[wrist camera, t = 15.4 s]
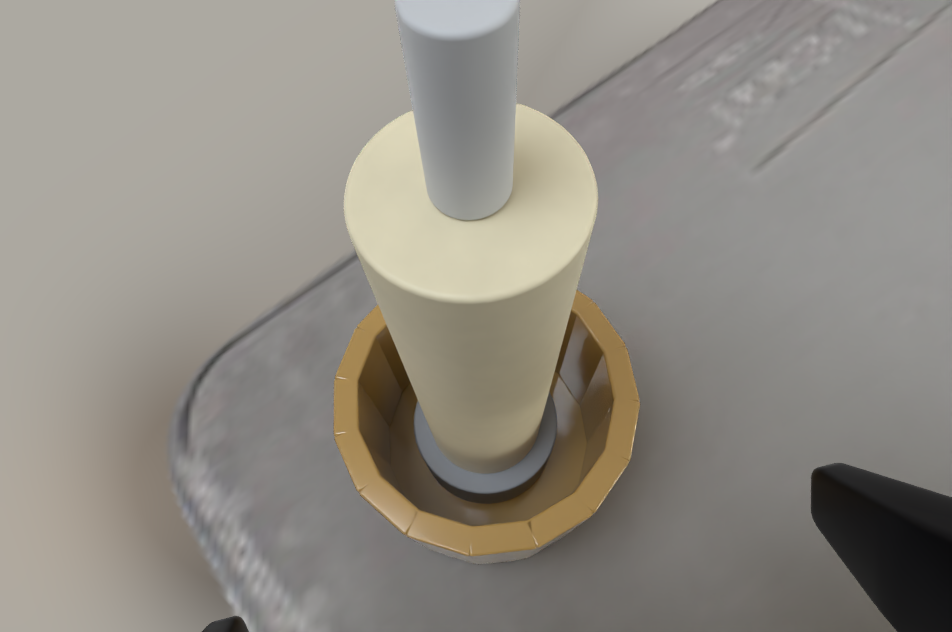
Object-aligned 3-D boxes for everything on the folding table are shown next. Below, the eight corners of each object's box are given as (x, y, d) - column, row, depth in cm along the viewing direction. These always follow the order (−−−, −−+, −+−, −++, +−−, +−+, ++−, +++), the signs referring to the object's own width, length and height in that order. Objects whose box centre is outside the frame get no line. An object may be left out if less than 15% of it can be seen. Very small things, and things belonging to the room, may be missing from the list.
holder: (508, 620, 16) (512, 633, 11) (327, 457, 18) (270, 413, 13) (645, 421, 18) (696, 365, 13) (470, 298, 20) (463, 215, 16)
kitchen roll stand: (570, 480, 17) (826, 109, 4) (440, 521, 16) (225, 265, 3) (526, 361, 18) (598, -179, 5) (408, 395, 18) (183, -97, 5)
